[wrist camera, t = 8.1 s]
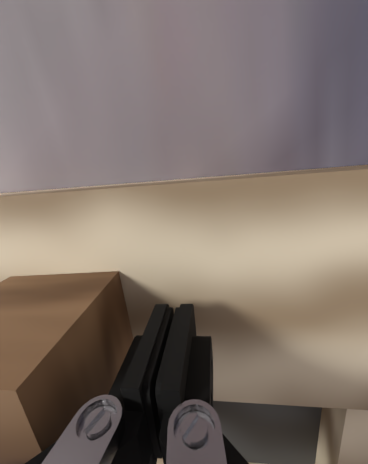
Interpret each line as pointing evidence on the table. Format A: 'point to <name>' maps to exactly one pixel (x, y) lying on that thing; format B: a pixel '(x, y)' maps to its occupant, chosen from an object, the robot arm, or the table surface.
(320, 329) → the board
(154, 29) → the table surface
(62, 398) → the walnut cube
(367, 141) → the table surface
